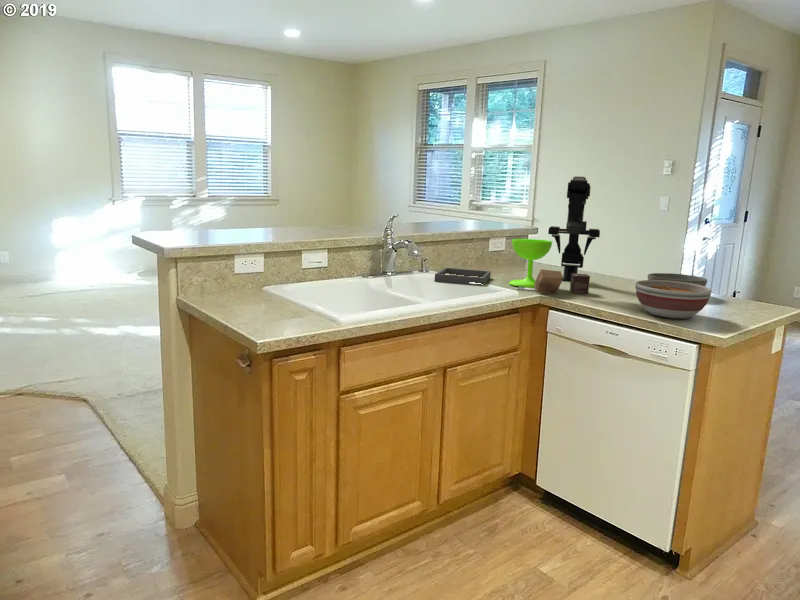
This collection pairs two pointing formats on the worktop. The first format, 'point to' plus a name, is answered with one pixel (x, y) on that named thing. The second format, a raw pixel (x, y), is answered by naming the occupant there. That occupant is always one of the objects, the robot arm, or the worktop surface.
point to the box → (579, 283)
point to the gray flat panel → (526, 288)
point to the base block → (548, 281)
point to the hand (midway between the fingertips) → (571, 254)
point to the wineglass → (529, 256)
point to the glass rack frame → (464, 279)
